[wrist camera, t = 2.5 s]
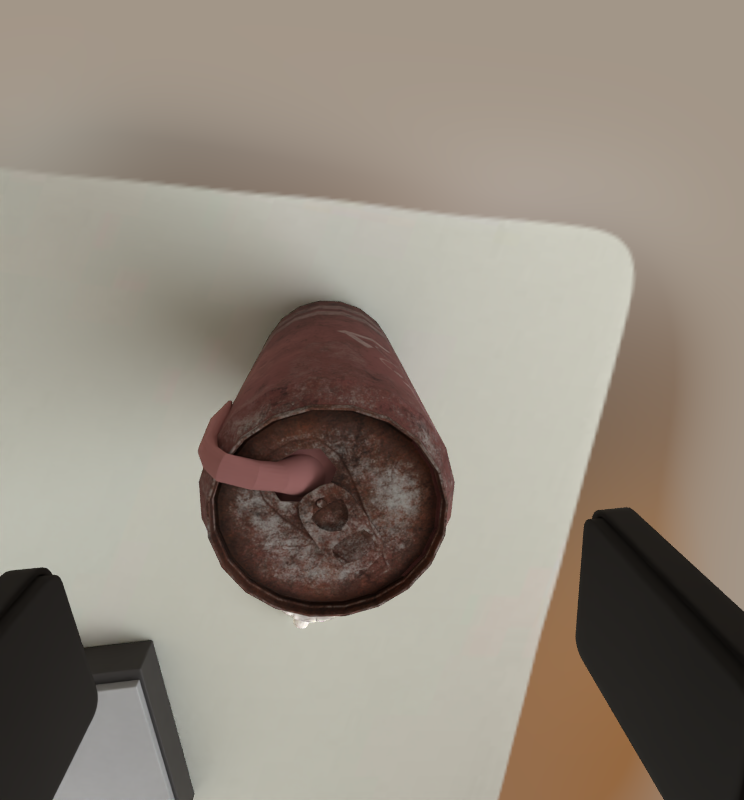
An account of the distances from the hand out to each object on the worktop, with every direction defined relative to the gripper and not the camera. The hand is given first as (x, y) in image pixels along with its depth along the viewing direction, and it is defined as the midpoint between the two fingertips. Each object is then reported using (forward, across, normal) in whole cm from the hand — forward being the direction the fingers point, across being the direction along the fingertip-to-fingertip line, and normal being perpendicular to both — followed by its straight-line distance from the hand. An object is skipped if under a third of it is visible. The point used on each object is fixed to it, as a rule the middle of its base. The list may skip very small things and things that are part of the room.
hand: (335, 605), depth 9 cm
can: (+16, 0, 0) cm, 17 cm away
